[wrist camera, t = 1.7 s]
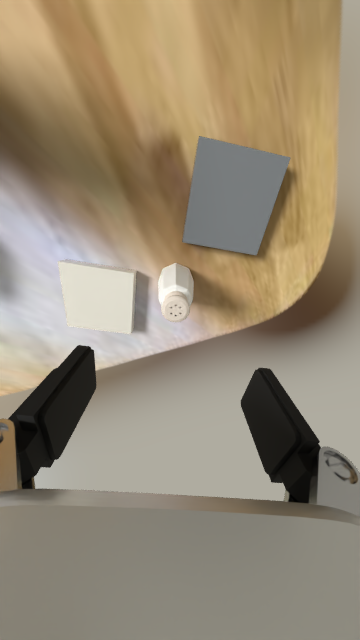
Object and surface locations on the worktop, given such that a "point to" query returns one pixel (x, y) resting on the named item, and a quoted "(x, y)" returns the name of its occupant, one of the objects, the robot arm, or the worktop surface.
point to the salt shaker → (175, 292)
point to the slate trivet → (232, 195)
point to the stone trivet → (98, 296)
